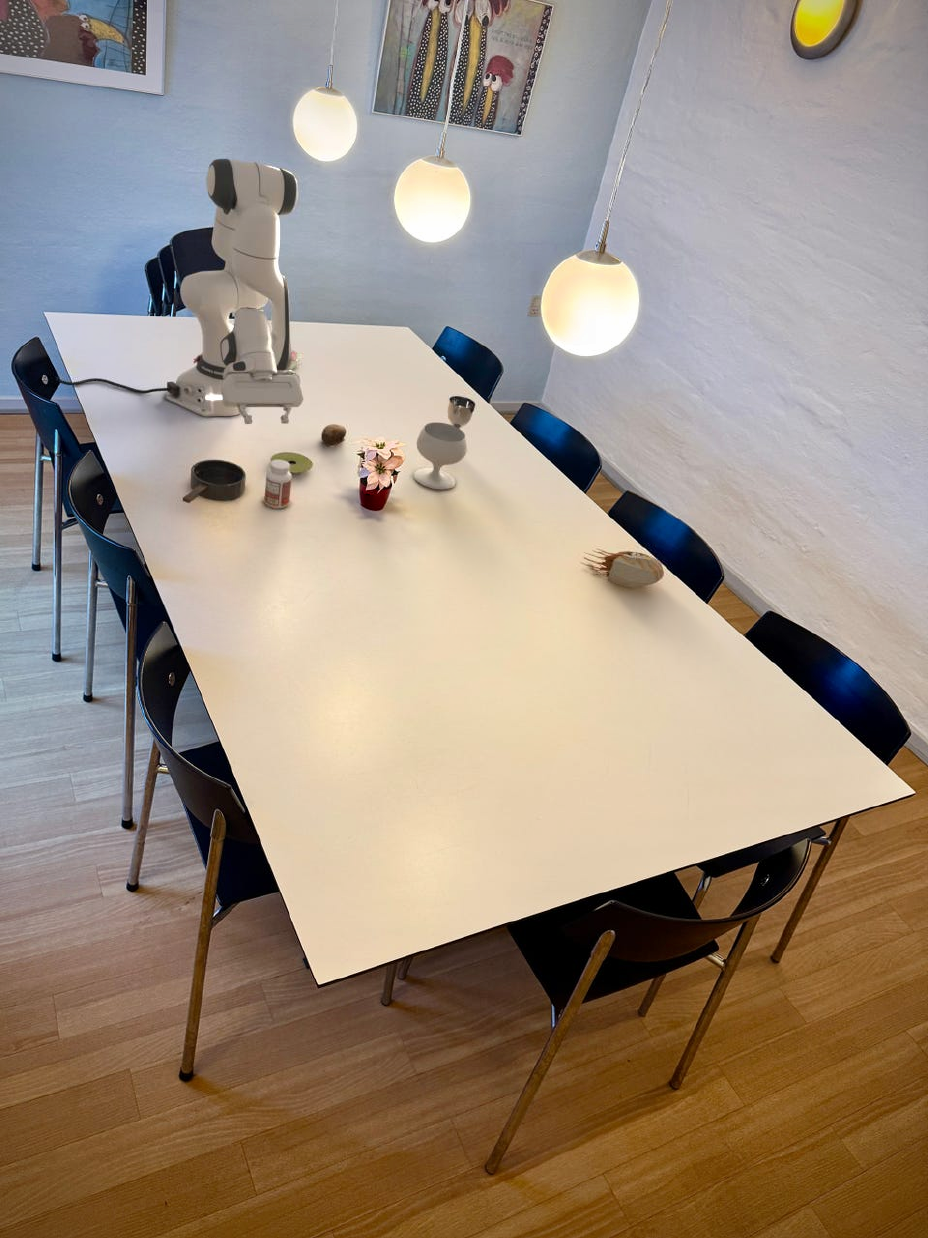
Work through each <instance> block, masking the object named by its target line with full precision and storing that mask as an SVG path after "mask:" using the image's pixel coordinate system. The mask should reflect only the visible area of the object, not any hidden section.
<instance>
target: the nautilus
mask: <svg viewBox="0 0 928 1238" xmlns="http://www.w3.org/2000/svg"><path fill="white" fill-rule="evenodd" d="M597 550H598V551H595V550H591V551H592V552H594V553H597V554H600V555H603V556H597V555H594V554H591V553H588V552H583V553H584V554H587V555H590V556H593V557H596V558H597V559H601V561H602V560H603V561H602V562H599V561H596V560H592V559H589V558H587V557H585V556H583V559H584V560H586V561H588V562H591V563H594V564H597V565H599V566H600V567H598V566H594V565H592V564H586V563H583V562H581V561H579V562H580V563H581V564H583V565H584V566H587V567H590V568H591V570H592V571H595V572H596V573H597V574H596V573H595V574H593V575H595V576H596V575H597V576H600V575H602V576H605V578H606V577H607V581H610V582H613V583H616V584H617V585H621V586H624V587H628V588H633V589H634V588H643V587H647V586H651V585H652V586H653V585H654V584H657V582H659V581H660V580H662V579H663V577H664V576H665V571H664V568H663V563H662V562H661V561H660V560H658V558H656V557H654V556H651V555H648V554H645V553H643V552H638V551H630V550H626V551H625V550H624V551H619V552H615V553H613V552H607V551H605V550H603V549H599V548H597Z"/></svg>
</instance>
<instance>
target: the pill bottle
mask: <svg viewBox="0 0 928 1238" xmlns="http://www.w3.org/2000/svg"><path fill="white" fill-rule="evenodd" d="M289 469H290V464H289V463H288V462H286V461H284V460H273V461H272V462H271V461H270V465H269V469H267V471H266V474H265V486H264V487H265V488H264V497H263V498H264V499H263V500H264V501H263V502H264V503H265V505H267V506H268V507H270V508H272V509H283V508H286V507H287V506H289V504H290V499H291V498H290V497H291V487H292V477H293V476H292V472H289Z"/></svg>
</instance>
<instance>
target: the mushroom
mask: <svg viewBox="0 0 928 1238" xmlns="http://www.w3.org/2000/svg"><path fill="white" fill-rule="evenodd" d="M346 435H347V429H346V427H345V426H344V425H341V424H336V423H331V424H328V425H326V426H325V427H324V428H323V429H322V430H321V439H320V440H321V441H322V443H323V444H324V445H325V446H327V447H334V446H337V445H340V444H342V443H344V442H345V441H346Z"/></svg>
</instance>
